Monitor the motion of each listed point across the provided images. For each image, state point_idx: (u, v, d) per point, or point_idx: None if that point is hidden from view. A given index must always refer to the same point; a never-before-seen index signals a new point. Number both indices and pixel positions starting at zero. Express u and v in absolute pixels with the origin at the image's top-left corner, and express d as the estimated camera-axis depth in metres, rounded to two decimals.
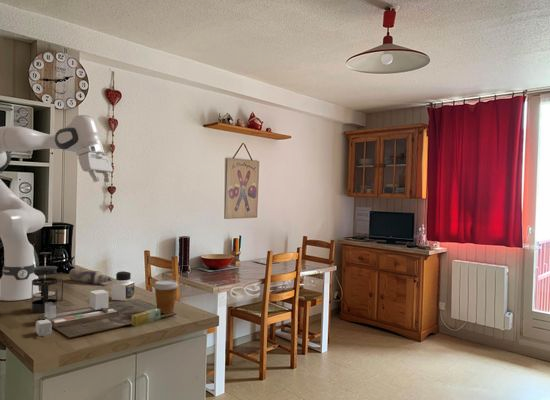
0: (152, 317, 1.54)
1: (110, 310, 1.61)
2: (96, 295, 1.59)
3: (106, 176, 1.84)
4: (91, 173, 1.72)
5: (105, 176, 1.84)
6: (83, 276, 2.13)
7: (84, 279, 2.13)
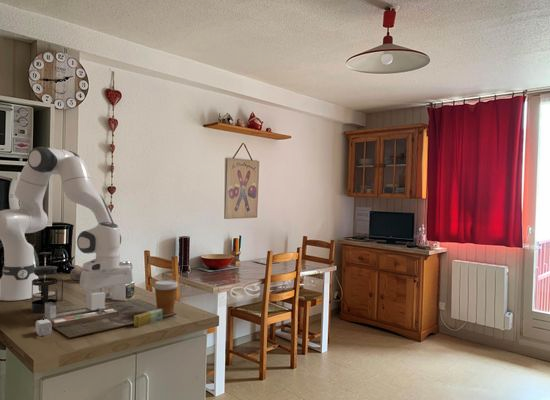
0: (154, 317, 1.54)
1: (110, 310, 1.61)
2: (92, 296, 1.58)
3: (110, 290, 1.66)
4: (100, 289, 1.63)
5: (109, 290, 1.66)
6: None
7: None
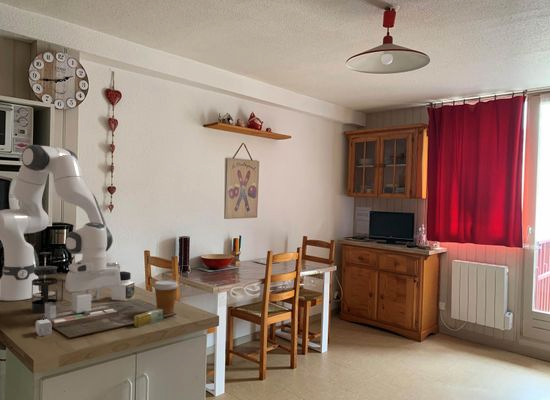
0: (154, 317, 1.54)
1: (110, 310, 1.61)
2: (78, 298, 1.54)
3: (96, 292, 1.62)
4: (86, 291, 1.60)
5: (96, 291, 1.62)
6: None
7: None
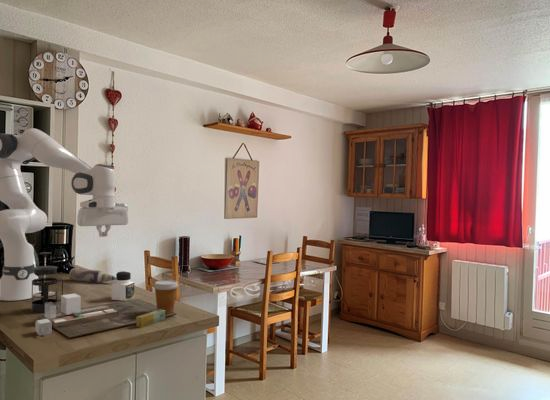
0: (157, 318, 1.53)
1: (110, 310, 1.61)
2: (67, 300, 1.51)
3: (106, 229, 1.73)
4: (97, 228, 1.71)
5: (106, 229, 1.74)
6: (85, 275, 2.14)
7: (86, 279, 2.14)
